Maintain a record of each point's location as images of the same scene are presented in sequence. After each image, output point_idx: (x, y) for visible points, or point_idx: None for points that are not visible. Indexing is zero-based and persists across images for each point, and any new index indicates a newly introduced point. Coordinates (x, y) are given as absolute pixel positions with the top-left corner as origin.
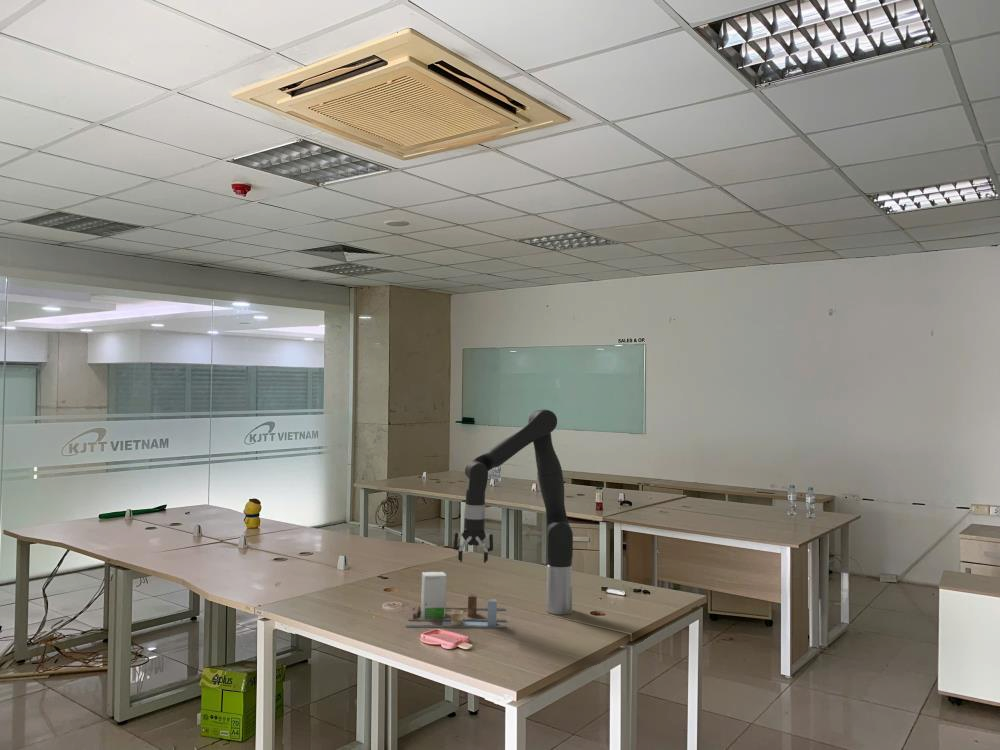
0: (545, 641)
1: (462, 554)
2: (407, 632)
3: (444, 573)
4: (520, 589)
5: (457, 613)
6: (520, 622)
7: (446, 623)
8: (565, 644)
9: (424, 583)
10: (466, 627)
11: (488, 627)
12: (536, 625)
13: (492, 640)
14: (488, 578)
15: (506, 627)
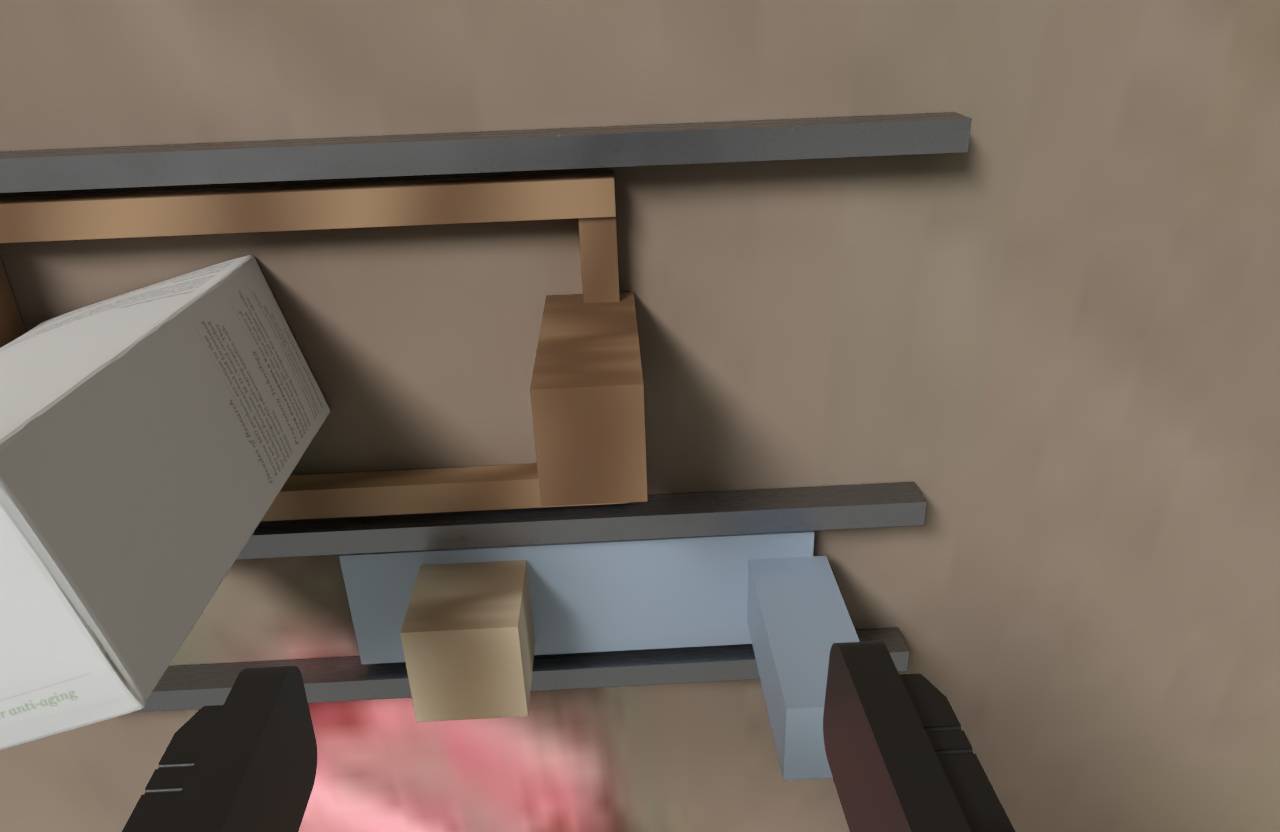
0: (1138, 794)
1: (248, 807)
2: (118, 729)
3: (49, 581)
4: None
5: (476, 709)
6: (1052, 433)
7: (385, 602)
8: (1253, 826)
9: None
10: (573, 683)
11: (755, 672)
12: (1176, 497)
13: (775, 809)
14: None
15: (903, 666)
